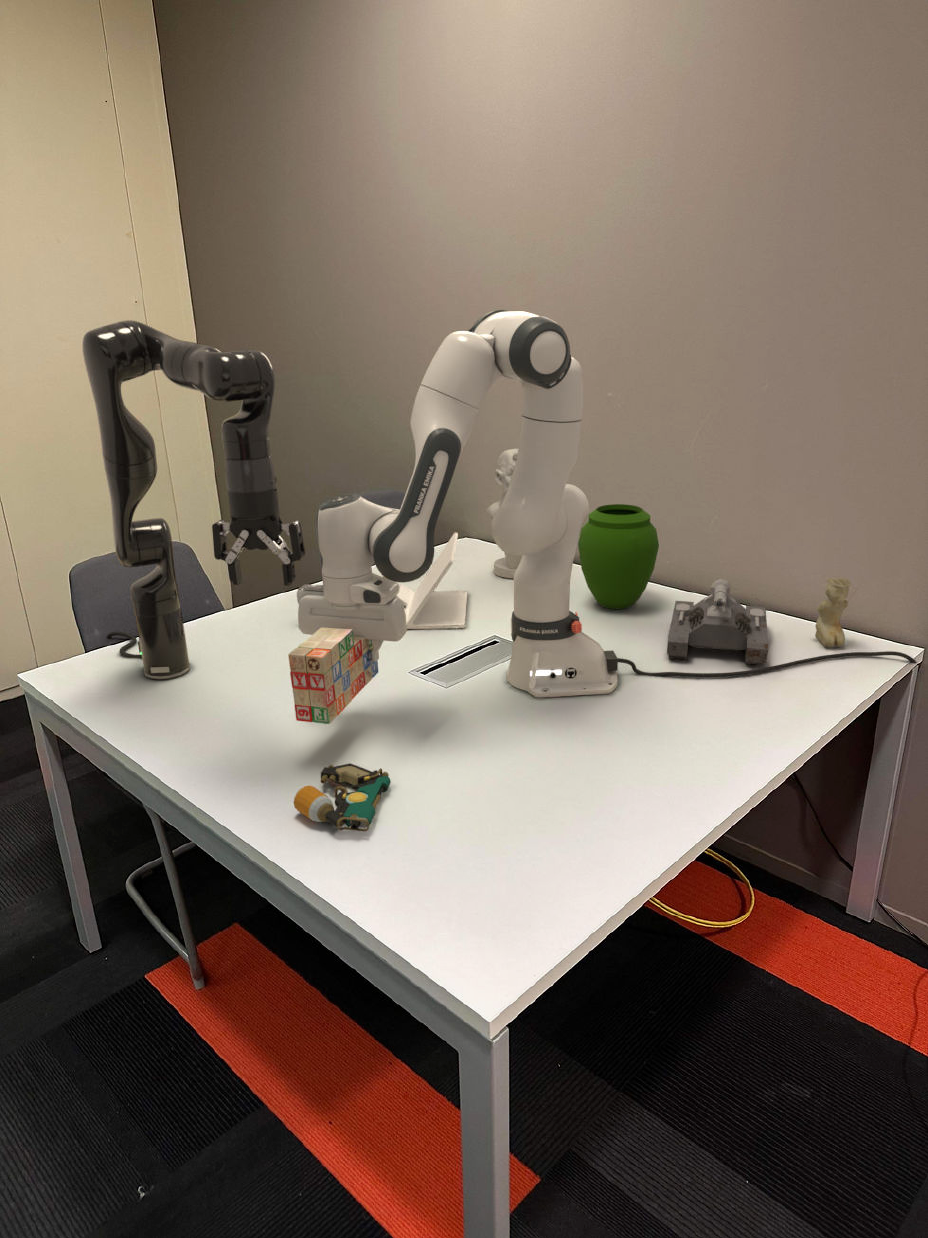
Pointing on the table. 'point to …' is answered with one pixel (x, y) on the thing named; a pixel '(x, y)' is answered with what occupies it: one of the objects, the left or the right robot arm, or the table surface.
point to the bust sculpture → (502, 477)
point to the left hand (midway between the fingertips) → (263, 584)
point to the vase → (618, 554)
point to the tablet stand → (435, 597)
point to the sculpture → (832, 613)
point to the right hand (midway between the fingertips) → (355, 658)
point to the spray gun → (344, 797)
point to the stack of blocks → (329, 673)
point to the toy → (719, 626)
